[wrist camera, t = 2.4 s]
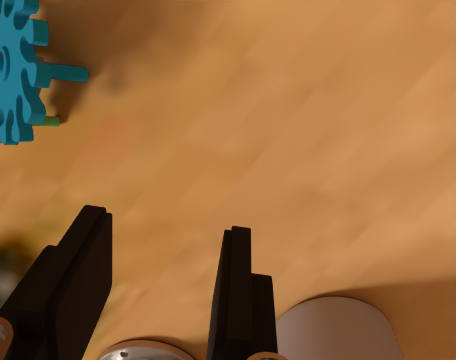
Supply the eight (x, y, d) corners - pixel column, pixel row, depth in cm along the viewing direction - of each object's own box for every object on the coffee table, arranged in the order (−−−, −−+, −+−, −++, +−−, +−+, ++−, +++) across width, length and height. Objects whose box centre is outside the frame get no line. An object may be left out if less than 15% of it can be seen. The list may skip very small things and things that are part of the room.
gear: (-15, -58, 23) (39, 41, 19) (80, -28, 28) (141, 59, 23) (-41, 89, 29) (-3, 189, 25) (41, 96, 34) (84, 182, 29)
